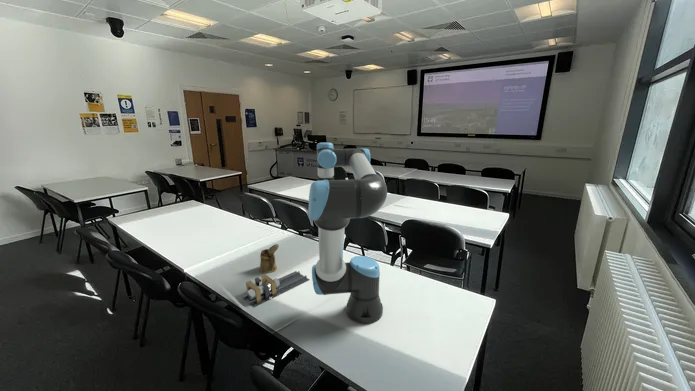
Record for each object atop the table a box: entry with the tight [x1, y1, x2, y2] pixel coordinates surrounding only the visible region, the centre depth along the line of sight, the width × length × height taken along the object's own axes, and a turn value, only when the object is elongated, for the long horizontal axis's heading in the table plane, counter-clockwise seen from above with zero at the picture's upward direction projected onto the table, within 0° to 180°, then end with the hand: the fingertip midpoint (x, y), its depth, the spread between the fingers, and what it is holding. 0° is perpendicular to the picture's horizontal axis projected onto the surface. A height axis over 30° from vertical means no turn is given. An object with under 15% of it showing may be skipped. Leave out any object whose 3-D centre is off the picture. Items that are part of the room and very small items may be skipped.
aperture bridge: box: [254, 277, 269, 299], centre depth 127 cm, size 9×2×6 cm, turn 45°
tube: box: [246, 277, 280, 300], centre depth 128 cm, size 14×4×4 cm, turn 135°
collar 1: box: [245, 280, 262, 304], centre depth 124 cm, size 9×2×6 cm, turn 45°
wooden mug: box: [259, 243, 280, 274], centre depth 146 cm, size 9×14×18 cm, turn 46°
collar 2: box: [260, 273, 277, 296], centre depth 129 cm, size 9×2×6 cm, turn 45°
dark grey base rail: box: [240, 270, 311, 308], centre depth 133 cm, size 12×30×2 cm, turn 135°
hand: (327, 224), depth 136 cm, fingers closed
